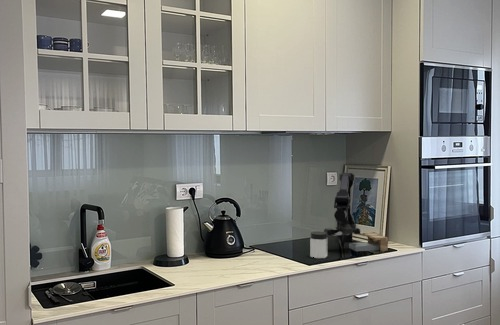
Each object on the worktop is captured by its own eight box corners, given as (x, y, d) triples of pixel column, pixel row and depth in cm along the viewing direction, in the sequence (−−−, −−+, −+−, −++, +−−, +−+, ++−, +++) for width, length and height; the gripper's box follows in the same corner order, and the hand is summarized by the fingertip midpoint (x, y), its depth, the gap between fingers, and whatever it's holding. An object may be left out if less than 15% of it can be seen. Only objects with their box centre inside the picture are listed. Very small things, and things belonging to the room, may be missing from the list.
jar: (331, 256, 251) (331, 233, 251) (319, 259, 246) (320, 235, 246) (317, 253, 258) (317, 230, 258) (306, 256, 253) (306, 232, 253)
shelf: (362, 245, 279) (362, 232, 278) (374, 244, 280) (374, 232, 280) (375, 251, 263) (375, 238, 263) (387, 250, 265) (387, 237, 264)
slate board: (349, 248, 273) (349, 243, 273) (372, 247, 276) (372, 242, 275) (355, 252, 264) (355, 246, 264) (380, 250, 267) (380, 245, 267)
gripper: (331, 221, 257) (331, 251, 257) (365, 219, 261) (364, 249, 262) (323, 218, 268) (323, 246, 268) (355, 216, 272) (355, 245, 272)
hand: (342, 247), depth 267 cm, fingers closed
